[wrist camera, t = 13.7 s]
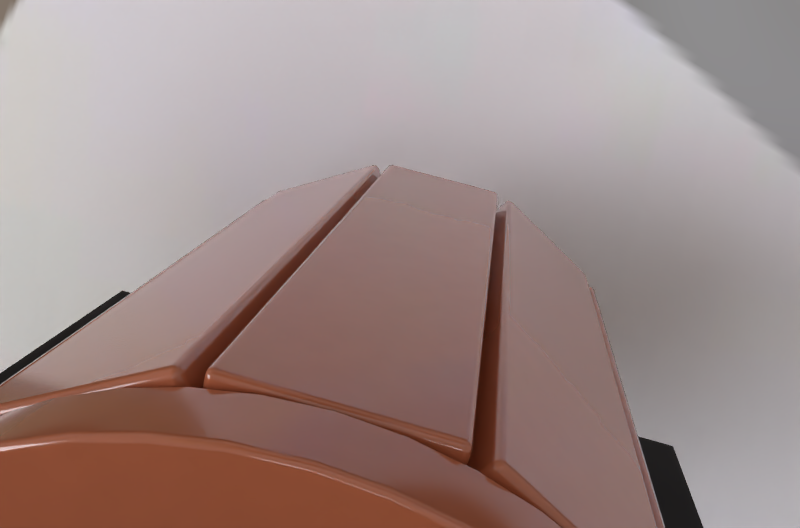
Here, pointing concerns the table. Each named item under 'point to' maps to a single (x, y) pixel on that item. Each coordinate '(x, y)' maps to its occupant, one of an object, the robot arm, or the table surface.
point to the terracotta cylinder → (337, 379)
